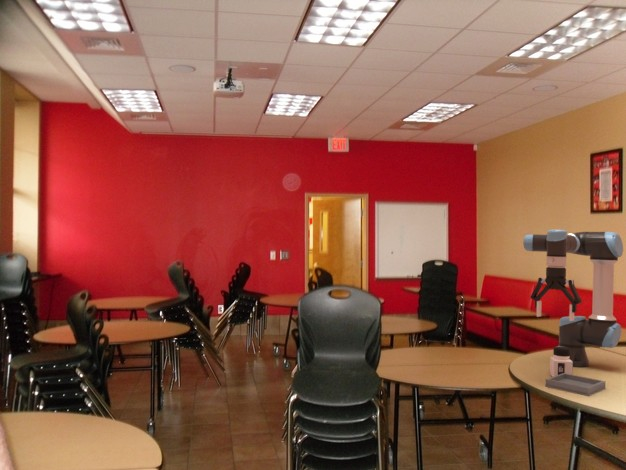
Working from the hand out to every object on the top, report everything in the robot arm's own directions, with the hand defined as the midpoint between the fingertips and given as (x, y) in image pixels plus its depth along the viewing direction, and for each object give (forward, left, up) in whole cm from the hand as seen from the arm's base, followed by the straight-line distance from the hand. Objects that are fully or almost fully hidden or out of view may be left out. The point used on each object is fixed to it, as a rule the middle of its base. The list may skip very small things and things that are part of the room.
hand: (554, 318), depth 228 cm
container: (-19, -5, -28) cm, 34 cm away
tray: (-5, +7, -28) cm, 29 cm away
